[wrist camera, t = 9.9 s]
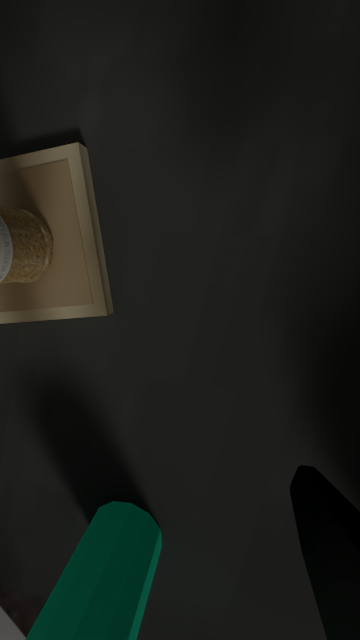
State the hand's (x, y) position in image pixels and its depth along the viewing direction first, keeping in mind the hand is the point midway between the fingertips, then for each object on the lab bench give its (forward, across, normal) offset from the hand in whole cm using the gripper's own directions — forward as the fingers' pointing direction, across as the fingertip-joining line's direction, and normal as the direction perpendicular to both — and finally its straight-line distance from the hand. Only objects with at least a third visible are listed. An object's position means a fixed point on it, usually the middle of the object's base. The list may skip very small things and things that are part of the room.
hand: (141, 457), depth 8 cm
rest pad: (+14, +9, -2) cm, 17 cm away
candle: (+9, 0, +19) cm, 21 cm away
